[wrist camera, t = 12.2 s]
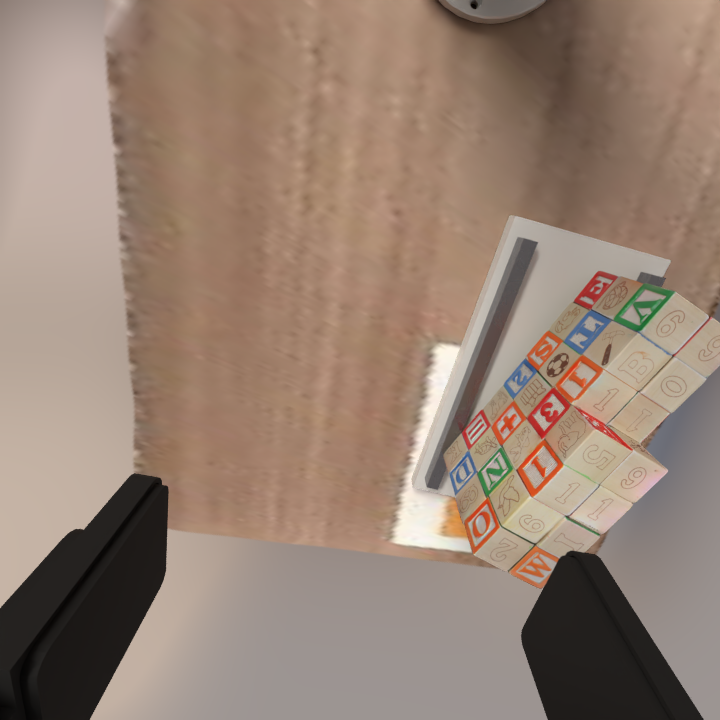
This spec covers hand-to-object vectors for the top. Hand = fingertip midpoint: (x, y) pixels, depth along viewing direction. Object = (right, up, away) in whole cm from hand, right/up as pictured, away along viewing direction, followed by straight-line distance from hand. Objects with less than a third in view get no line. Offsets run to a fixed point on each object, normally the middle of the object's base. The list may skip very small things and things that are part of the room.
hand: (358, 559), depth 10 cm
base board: (+16, +3, +30) cm, 34 cm away
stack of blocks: (+16, +2, +27) cm, 32 cm away
